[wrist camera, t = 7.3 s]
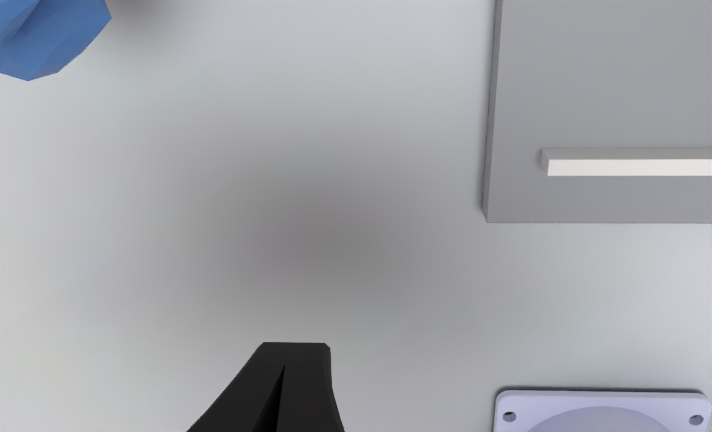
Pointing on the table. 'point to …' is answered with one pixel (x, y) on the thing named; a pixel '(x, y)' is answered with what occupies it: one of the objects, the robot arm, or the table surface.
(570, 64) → the gauge track
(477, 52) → the table surface
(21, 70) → the grapes
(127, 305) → the table surface
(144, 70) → the table surface
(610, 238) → the table surface
